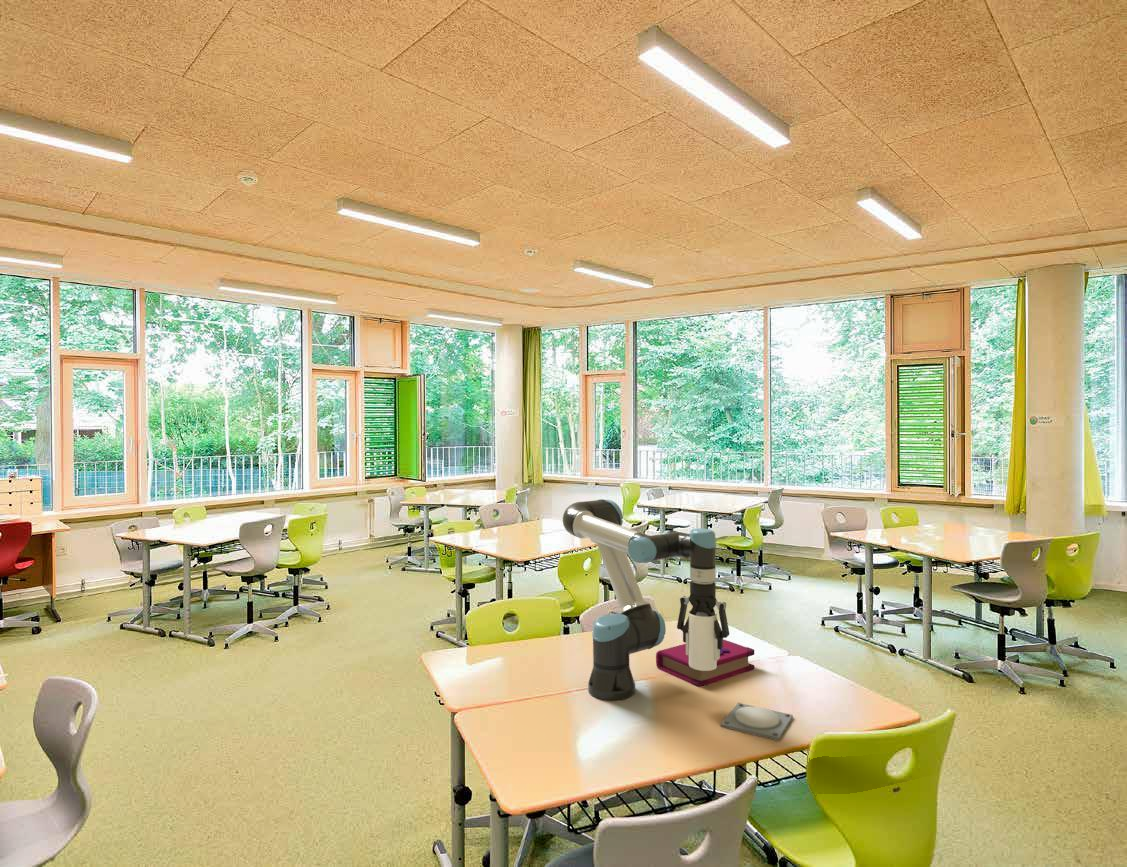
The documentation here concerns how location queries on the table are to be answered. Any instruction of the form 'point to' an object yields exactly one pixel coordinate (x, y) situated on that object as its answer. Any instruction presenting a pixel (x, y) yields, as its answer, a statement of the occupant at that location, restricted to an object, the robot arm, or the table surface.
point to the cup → (702, 641)
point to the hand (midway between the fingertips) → (702, 656)
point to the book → (727, 666)
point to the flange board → (757, 721)
